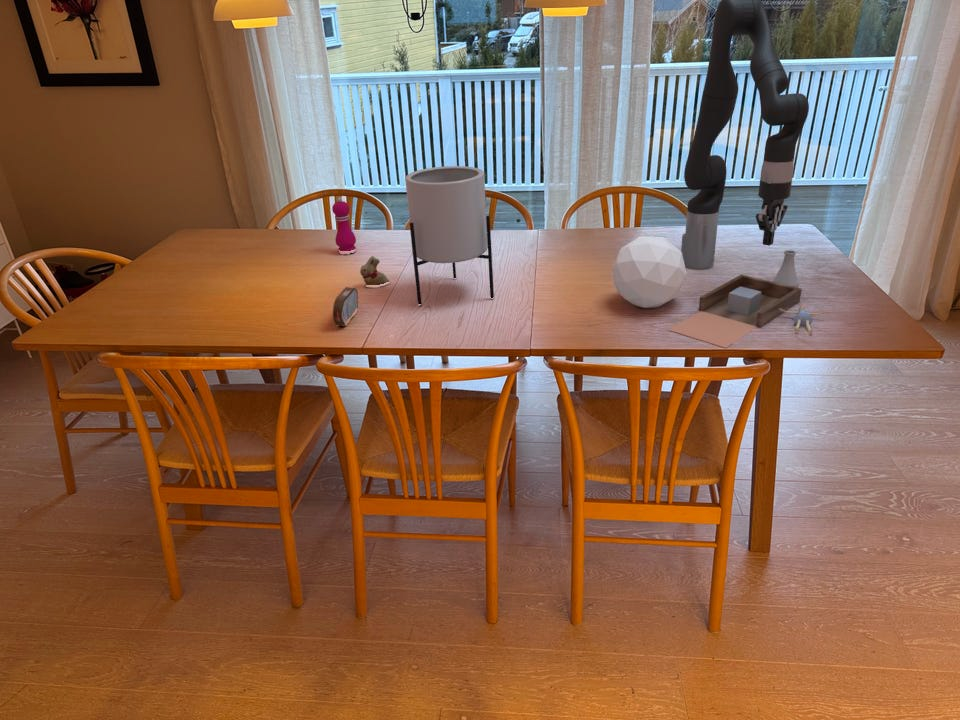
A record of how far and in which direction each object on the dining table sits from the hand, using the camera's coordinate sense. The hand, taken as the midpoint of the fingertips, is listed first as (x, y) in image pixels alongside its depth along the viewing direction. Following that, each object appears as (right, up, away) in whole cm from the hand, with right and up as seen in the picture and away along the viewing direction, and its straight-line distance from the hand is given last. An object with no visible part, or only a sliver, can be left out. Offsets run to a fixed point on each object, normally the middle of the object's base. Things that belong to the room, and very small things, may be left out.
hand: (767, 244), depth 182 cm
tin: (-113, -19, +12) cm, 115 cm away
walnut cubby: (-4, -16, +4) cm, 17 cm away
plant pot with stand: (-83, -11, +24) cm, 87 cm away
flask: (+12, -9, +16) cm, 22 cm away
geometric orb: (-29, -15, +10) cm, 34 cm away
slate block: (-6, -17, +2) cm, 18 cm away
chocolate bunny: (-108, -7, +35) cm, 114 cm away
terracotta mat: (-17, -23, -7) cm, 29 cm away
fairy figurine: (+5, -22, -8) cm, 24 cm away
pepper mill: (-124, +8, +66) cm, 141 cm away
